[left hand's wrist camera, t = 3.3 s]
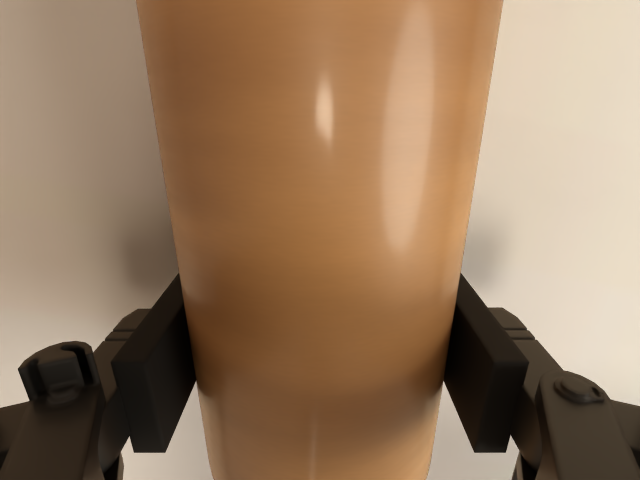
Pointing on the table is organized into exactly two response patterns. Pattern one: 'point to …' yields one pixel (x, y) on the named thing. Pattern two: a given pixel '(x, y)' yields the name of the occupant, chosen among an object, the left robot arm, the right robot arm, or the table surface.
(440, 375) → the rod
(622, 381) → the table surface
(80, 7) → the table surface
